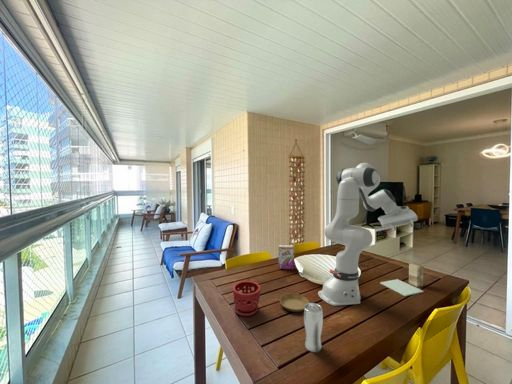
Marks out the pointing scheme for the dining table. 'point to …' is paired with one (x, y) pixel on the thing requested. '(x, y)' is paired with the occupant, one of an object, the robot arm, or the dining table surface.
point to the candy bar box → (286, 257)
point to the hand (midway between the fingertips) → (403, 228)
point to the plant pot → (246, 298)
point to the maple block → (416, 274)
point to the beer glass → (313, 326)
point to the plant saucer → (293, 302)
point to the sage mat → (401, 287)
